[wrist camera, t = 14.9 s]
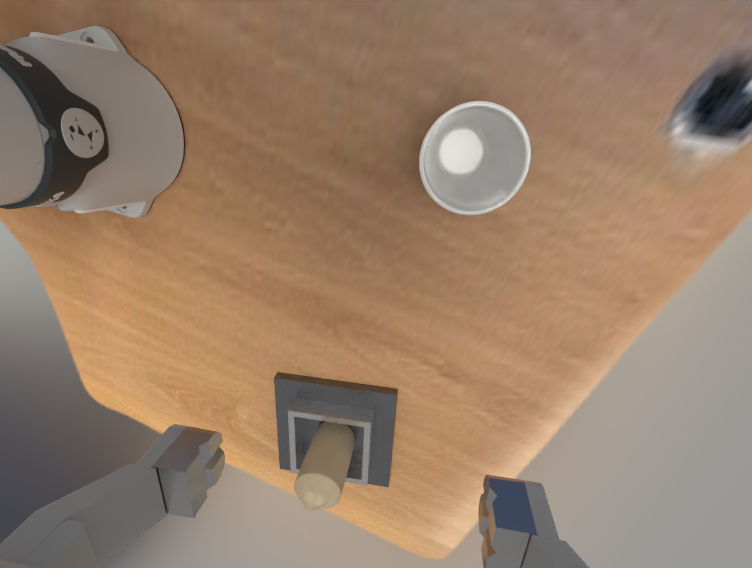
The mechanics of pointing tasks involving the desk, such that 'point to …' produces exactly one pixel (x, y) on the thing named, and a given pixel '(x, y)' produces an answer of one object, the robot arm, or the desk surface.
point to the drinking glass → (474, 157)
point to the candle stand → (338, 405)
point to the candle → (325, 466)
